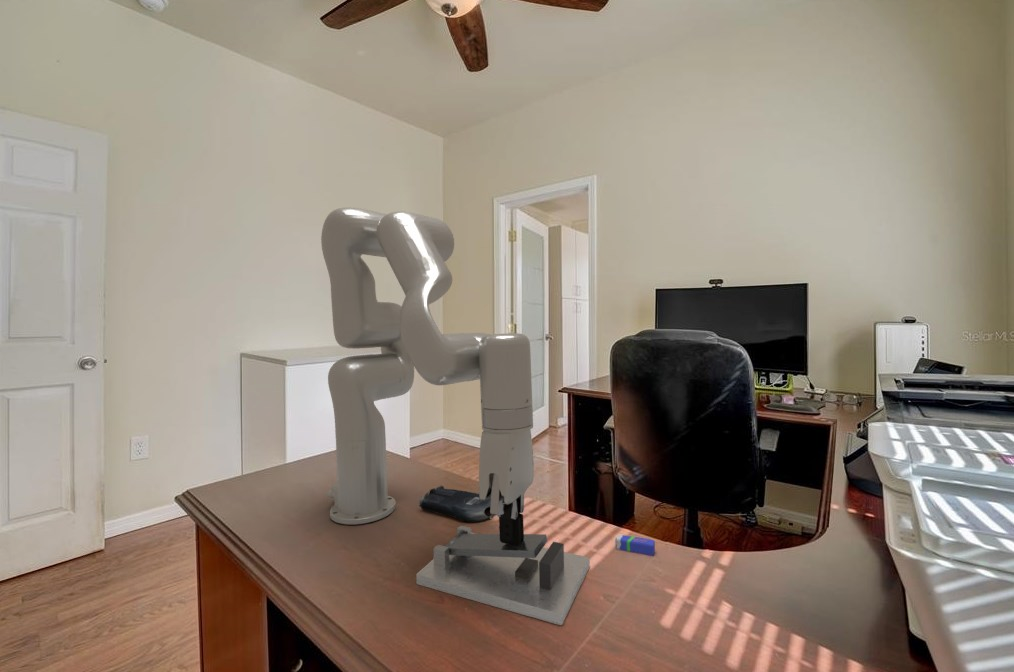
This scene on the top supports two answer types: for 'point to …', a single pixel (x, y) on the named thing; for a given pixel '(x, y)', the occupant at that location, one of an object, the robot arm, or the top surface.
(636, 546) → the eraser
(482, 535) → the retention lever
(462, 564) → the mounting plate
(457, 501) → the electronic device
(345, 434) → the robot arm
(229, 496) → the top surface
